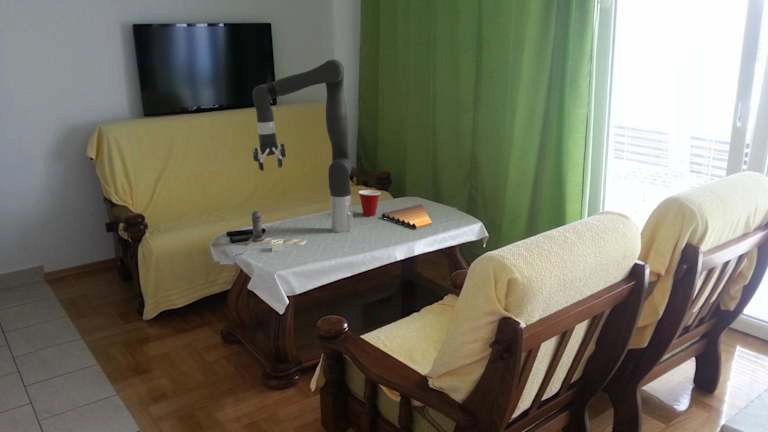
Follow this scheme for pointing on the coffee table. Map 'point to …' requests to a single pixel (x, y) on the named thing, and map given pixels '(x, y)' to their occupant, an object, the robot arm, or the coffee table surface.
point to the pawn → (257, 227)
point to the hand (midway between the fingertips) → (271, 169)
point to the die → (277, 245)
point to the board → (285, 241)
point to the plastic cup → (369, 201)
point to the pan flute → (410, 216)
